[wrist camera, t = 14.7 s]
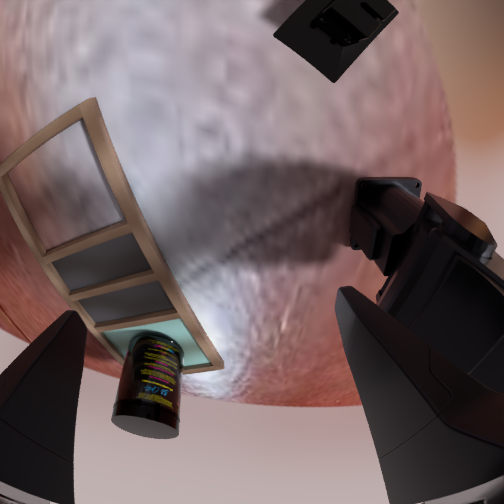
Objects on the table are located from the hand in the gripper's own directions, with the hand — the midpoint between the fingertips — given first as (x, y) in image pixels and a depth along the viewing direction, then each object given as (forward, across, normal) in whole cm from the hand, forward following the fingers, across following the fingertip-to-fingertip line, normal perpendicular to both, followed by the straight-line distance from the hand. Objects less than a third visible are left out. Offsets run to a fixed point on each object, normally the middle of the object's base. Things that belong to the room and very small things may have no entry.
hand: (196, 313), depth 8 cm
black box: (+14, -10, -12) cm, 21 cm away
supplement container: (+13, +10, +18) cm, 24 cm away
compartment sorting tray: (+13, +12, +8) cm, 19 cm away
